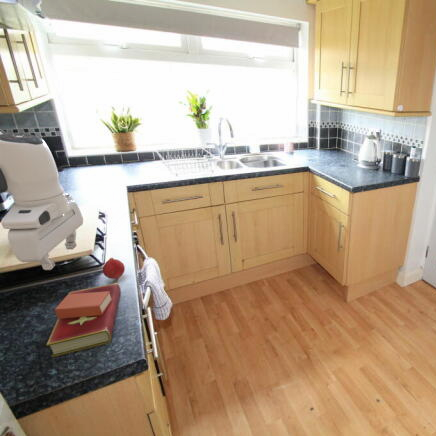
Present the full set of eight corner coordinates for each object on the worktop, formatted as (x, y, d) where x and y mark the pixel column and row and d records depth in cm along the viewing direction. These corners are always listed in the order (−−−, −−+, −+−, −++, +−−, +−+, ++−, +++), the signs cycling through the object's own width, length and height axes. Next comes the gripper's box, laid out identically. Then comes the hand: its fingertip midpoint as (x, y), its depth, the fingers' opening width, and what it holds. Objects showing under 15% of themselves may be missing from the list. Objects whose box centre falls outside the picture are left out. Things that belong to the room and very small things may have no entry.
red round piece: (102, 284, 100) (96, 263, 97) (110, 274, 105) (104, 253, 102) (123, 283, 101) (117, 261, 98) (129, 273, 106) (124, 252, 103)
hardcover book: (121, 293, 96) (118, 281, 95) (112, 342, 79) (107, 329, 77) (73, 303, 92) (69, 291, 90) (52, 357, 74) (46, 343, 73)
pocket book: (58, 319, 80) (54, 309, 79) (71, 303, 85) (68, 294, 84) (102, 315, 82) (98, 305, 80) (112, 300, 87) (109, 291, 86)
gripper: (54, 191, 82) (70, 238, 87) (-6, 225, 63) (18, 282, 69) (82, 190, 83) (95, 237, 89) (30, 224, 65) (51, 280, 70)
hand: (61, 257), depth 79 cm, fingers open, 8 cm apart
